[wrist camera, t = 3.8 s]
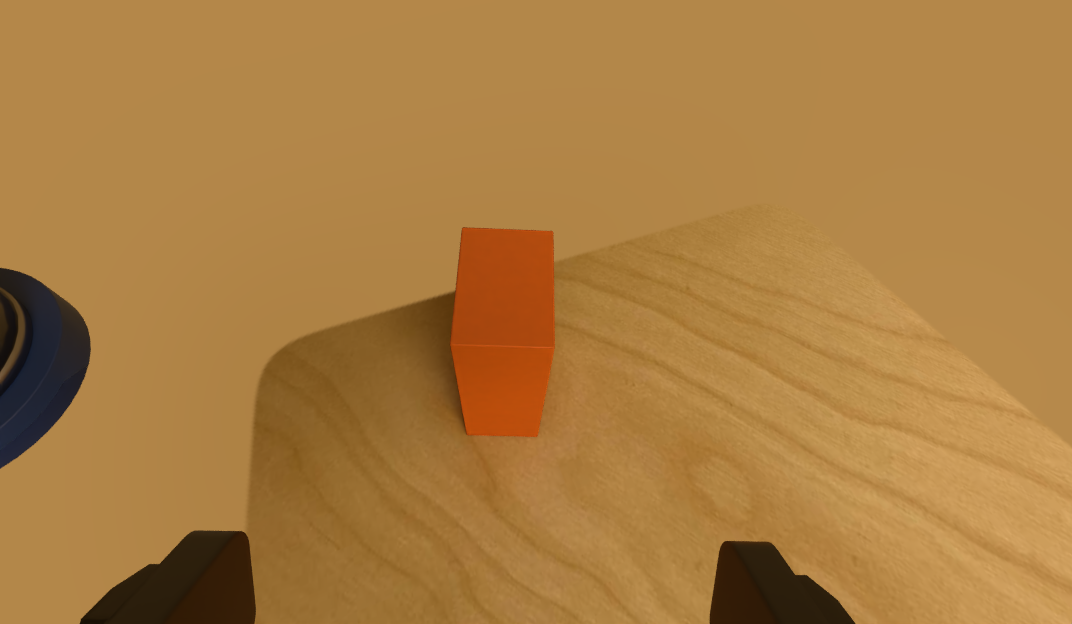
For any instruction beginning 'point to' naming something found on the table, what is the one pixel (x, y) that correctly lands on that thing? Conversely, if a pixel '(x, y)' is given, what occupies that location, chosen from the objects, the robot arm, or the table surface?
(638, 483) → the table surface
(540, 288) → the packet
